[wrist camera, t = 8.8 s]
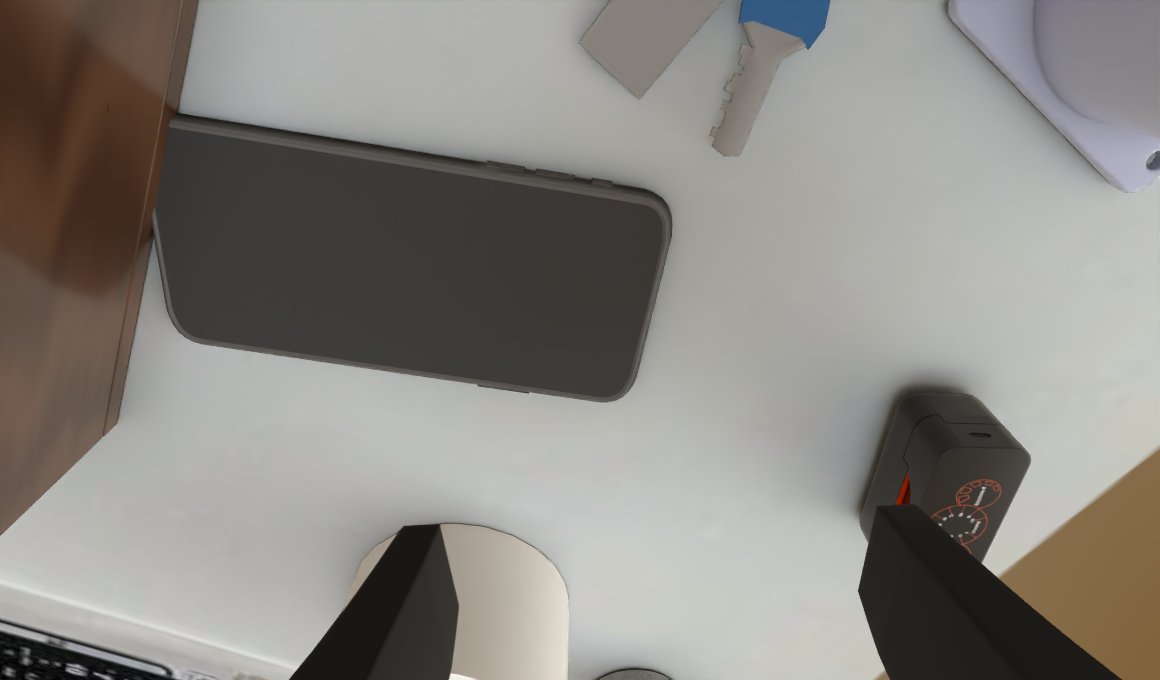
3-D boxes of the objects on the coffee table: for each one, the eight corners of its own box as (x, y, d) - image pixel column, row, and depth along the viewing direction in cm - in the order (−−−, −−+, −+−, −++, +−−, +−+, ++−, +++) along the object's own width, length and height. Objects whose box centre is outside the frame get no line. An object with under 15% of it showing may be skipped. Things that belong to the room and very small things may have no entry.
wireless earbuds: (845, 537, 25) (879, 609, 22) (896, 384, 21) (943, 446, 19) (964, 540, 25) (1012, 612, 22) (1033, 388, 22) (1102, 450, 19)
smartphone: (124, 105, 17) (683, 198, 18) (146, 99, 18) (679, 188, 19) (168, 345, 21) (630, 412, 21) (185, 330, 21) (629, 395, 22)
